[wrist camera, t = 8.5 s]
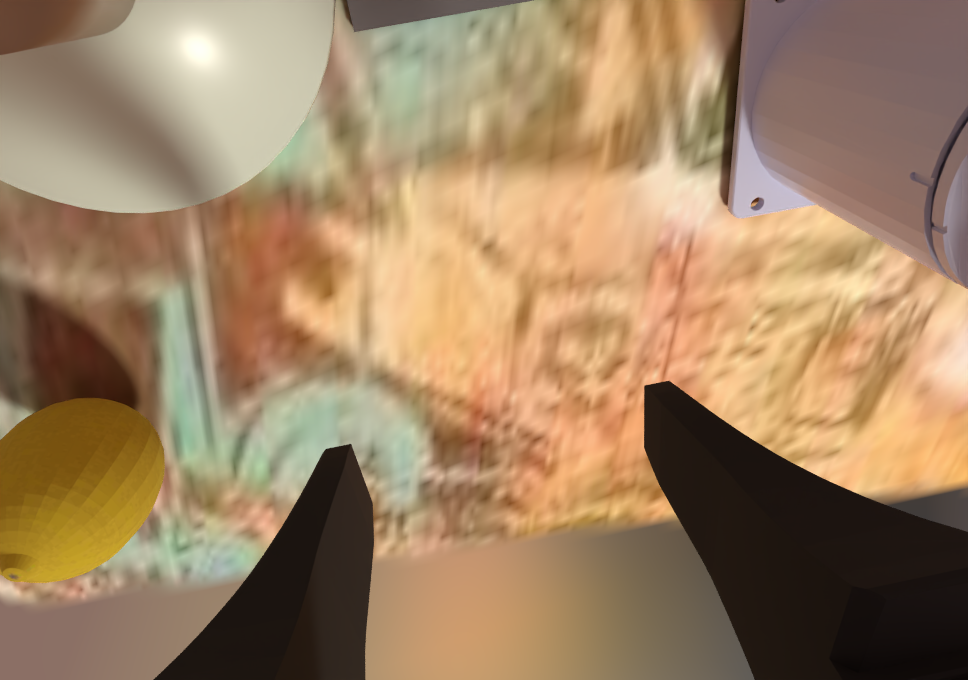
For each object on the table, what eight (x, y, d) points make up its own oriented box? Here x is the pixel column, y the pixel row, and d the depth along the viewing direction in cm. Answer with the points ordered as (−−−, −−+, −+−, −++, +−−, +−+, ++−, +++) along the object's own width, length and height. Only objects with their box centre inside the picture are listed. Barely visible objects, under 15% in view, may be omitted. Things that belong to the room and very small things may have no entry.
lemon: (17, 376, 23) (-141, 539, 17) (152, 346, 23) (48, 498, 17) (92, 472, 26) (-16, 644, 20) (212, 446, 26) (145, 608, 20)
